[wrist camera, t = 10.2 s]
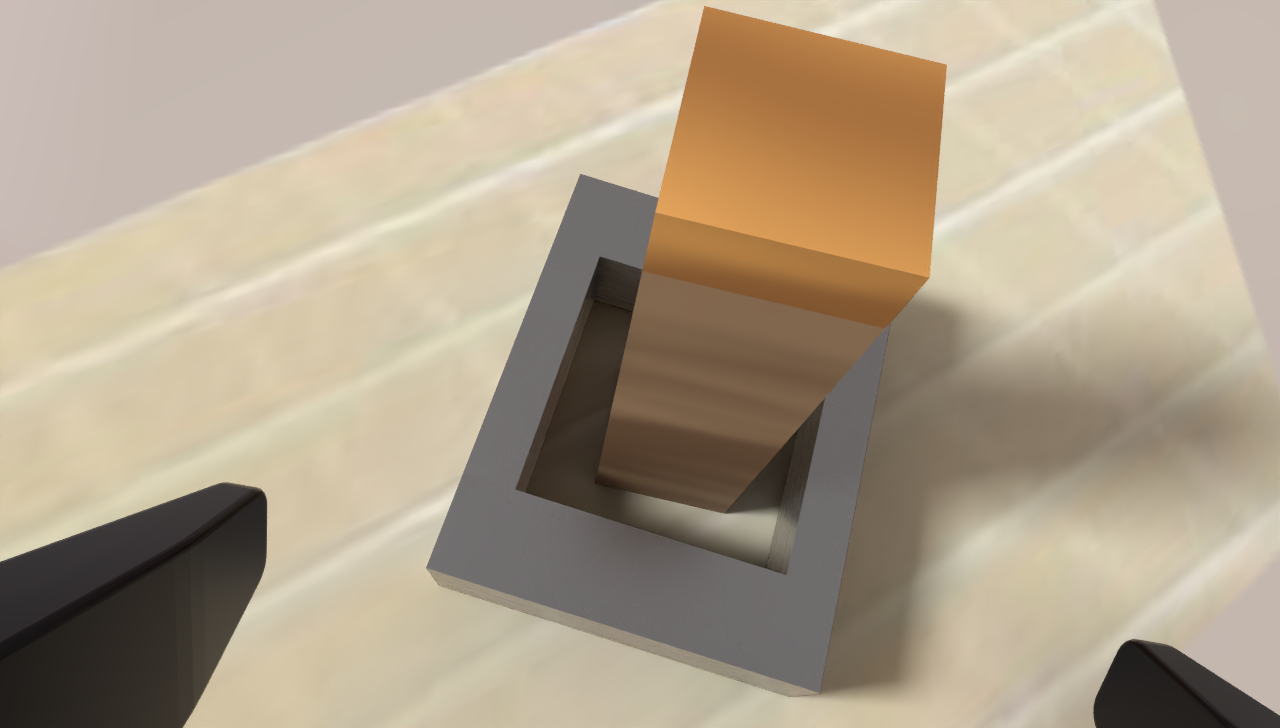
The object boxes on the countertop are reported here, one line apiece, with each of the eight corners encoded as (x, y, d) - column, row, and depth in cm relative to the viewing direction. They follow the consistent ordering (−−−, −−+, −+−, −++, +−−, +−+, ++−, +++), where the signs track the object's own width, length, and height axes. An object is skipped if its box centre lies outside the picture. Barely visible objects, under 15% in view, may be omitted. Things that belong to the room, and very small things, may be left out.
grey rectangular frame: (789, 697, 21) (819, 693, 19) (438, 585, 21) (425, 568, 19) (867, 313, 25) (900, 272, 23) (576, 223, 26) (580, 174, 23)
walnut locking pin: (724, 513, 23) (929, 277, 11) (594, 483, 23) (655, 211, 11) (745, 392, 24) (945, 65, 12) (623, 363, 24) (704, 5, 12)
